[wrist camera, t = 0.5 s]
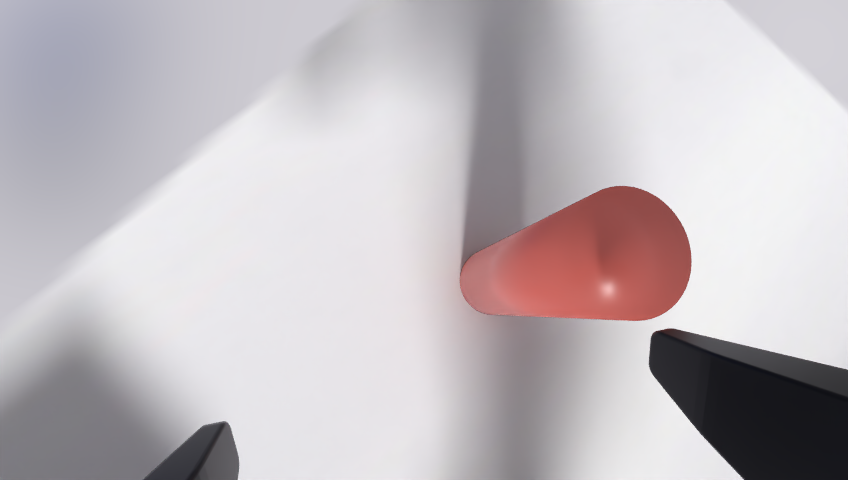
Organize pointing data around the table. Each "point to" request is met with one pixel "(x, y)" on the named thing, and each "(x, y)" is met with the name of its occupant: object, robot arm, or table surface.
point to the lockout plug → (586, 262)
